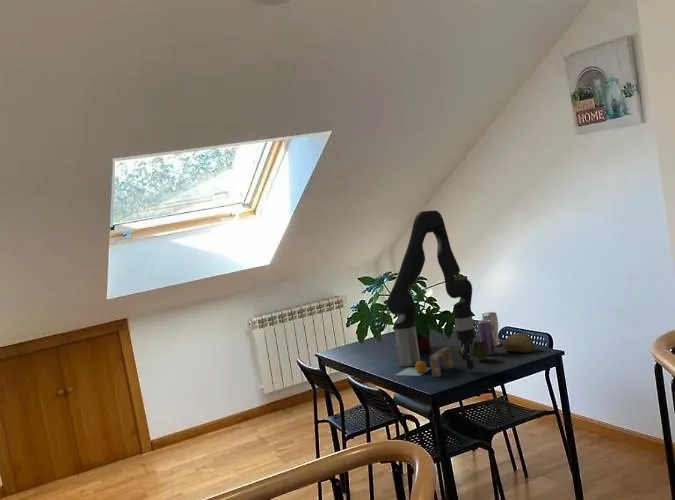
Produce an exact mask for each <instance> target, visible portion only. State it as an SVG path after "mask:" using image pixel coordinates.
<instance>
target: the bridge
mask: <svg viewBox="0 0 675 500" xmlns="http://www.w3.org/2000/svg"><path fill="white" fill-rule="evenodd" d="M441 357H442V359H443V365H444V366H443V367H444V369H447V370H448V369H449V370H451V369H453V368H454V365H453V359H452V352H451V347H443V348H441V349H440V350H438V351H436V352H434V353H433V354H431V355H429V357H428V358H429V362H430V363H429V365H430V367H431V369H430V370H431V376H432V377H435V378H439V377H441V376H442V375H441V373H442V372H441V366H440V359H439V358H441Z"/></svg>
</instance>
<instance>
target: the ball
mask: <svg viewBox="0 0 675 500" xmlns="http://www.w3.org/2000/svg"><path fill="white" fill-rule="evenodd" d="M414 367H415V369H416V371H417V372H420V373H422V372H424V371H425V370H426V368H427V367H428V366H427V364H426V362H425V361H424V360H420V361H418V362H417V363H416V364H415V365H414Z"/></svg>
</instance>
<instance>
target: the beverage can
mask: <svg viewBox="0 0 675 500" xmlns="http://www.w3.org/2000/svg"><path fill="white" fill-rule="evenodd" d="M477 331H478V336H479V341H480V343H481V341H485V342H488V353H487V355H486V356H492V355H495V354H496V346H494V339H493V332H492V325H491V322H490V320H483V319H482V320H478V321H477Z"/></svg>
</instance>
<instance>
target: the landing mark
mask: <svg viewBox="0 0 675 500" xmlns="http://www.w3.org/2000/svg"><path fill="white" fill-rule="evenodd" d="M430 370H431V366H430V367H428V366H427V368H426V370H425V371H424V372H422V373H420V372H417V371H416V369H415V366H407V367H405V368H404V369H403V370H402V371H399V372H398V373H397V374H394V376H399V377H402V376H403V377H410V376H411V377H414V376H415V377H419V376H422V375H424V374H425V373H427V372H428V371H430Z"/></svg>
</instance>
